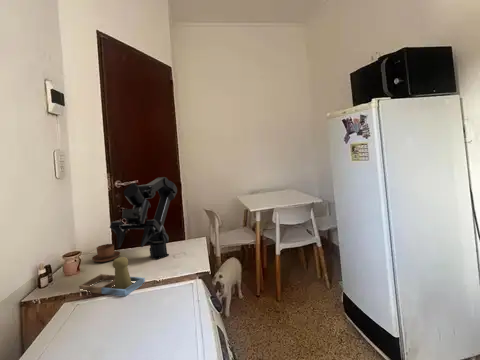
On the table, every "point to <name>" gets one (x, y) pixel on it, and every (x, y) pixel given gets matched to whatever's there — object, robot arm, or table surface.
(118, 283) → the olive green tapered cylinder
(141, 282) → the two-pocket rack
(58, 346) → the table surface
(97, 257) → the brown hat
